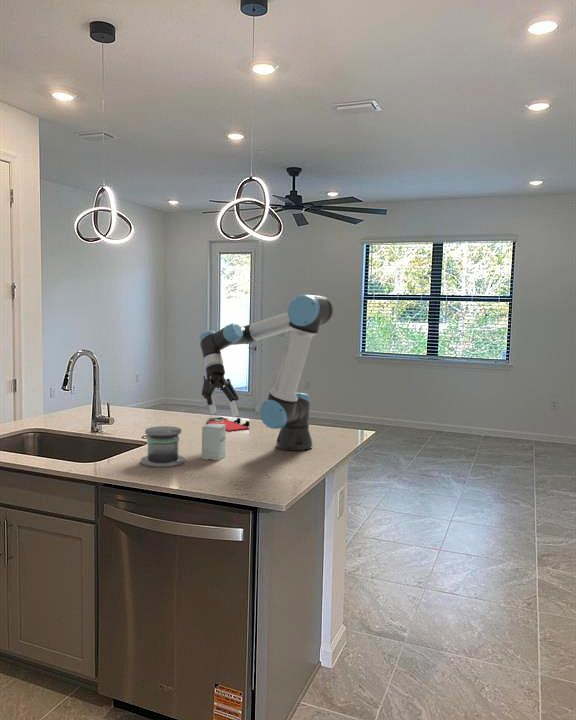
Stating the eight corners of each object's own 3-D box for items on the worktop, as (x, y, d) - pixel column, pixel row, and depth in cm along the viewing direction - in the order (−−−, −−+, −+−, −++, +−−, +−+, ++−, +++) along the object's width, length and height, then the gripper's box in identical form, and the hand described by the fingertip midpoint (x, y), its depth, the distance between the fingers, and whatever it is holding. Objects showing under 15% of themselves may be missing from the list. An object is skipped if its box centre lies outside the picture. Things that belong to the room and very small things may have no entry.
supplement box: (219, 460, 220) (220, 427, 219) (201, 459, 222) (201, 426, 221) (225, 456, 227) (226, 424, 226) (207, 454, 229) (208, 422, 228)
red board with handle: (225, 418, 305) (199, 421, 296) (225, 413, 304) (199, 416, 296) (256, 429, 280) (228, 433, 272) (256, 424, 280) (228, 427, 271)
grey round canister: (193, 460, 219) (194, 429, 218) (164, 470, 205) (164, 436, 204) (161, 454, 227) (162, 423, 226) (131, 463, 214) (131, 430, 213)
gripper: (227, 375, 255) (237, 420, 247) (186, 365, 235) (196, 414, 227) (240, 368, 252) (251, 414, 244) (200, 357, 232) (210, 407, 224)
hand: (224, 414), depth 235 cm, fingers open, 13 cm apart
